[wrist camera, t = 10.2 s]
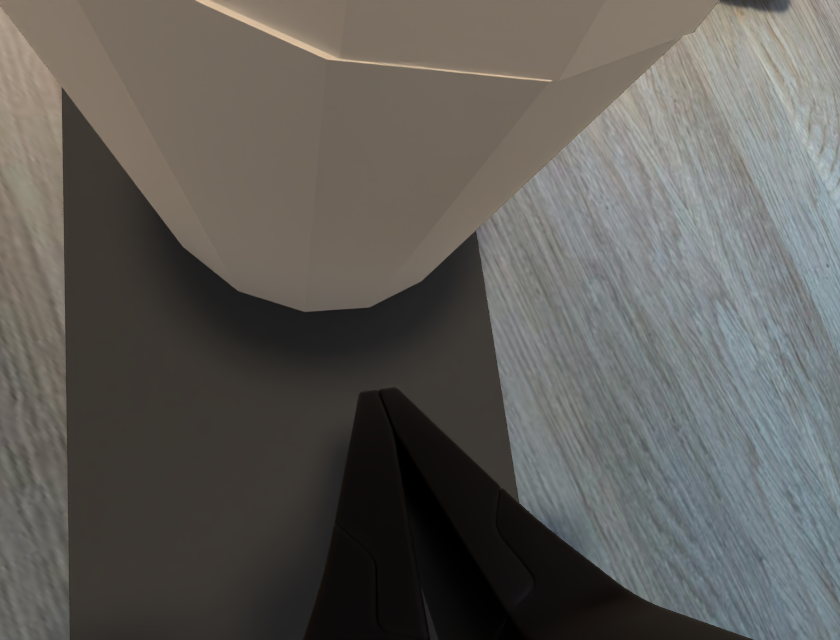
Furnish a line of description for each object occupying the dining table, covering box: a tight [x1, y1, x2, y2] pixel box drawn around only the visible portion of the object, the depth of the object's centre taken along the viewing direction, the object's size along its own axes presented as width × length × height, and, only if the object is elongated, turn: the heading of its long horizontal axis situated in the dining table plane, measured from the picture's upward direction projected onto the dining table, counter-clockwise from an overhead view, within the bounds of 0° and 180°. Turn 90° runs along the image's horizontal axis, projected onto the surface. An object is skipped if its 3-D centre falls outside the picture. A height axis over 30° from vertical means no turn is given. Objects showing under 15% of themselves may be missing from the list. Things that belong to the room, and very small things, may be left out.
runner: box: [62, 88, 519, 640], centre depth 16 cm, size 32×16×1 cm, turn 8°
